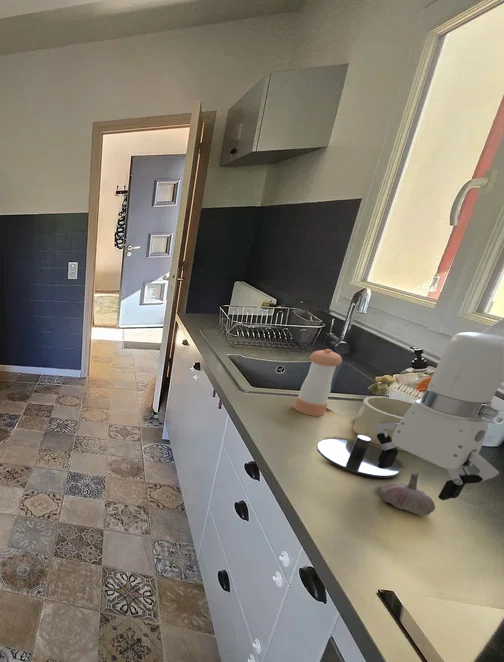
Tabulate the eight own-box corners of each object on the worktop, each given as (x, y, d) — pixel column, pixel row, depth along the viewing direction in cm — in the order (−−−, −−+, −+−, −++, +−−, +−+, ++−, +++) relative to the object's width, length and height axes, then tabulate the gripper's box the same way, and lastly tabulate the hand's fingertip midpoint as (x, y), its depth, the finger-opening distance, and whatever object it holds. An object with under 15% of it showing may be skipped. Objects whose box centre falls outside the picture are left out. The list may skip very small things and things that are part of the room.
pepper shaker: (328, 411, 113) (349, 350, 106) (318, 418, 109) (340, 355, 102) (299, 402, 119) (318, 343, 111) (289, 409, 115) (308, 348, 107)
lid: (414, 472, 86) (426, 449, 84) (367, 485, 82) (378, 461, 80) (344, 439, 99) (352, 418, 97) (301, 448, 96) (308, 427, 93)
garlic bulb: (367, 496, 79) (381, 464, 76) (396, 491, 81) (411, 460, 77) (409, 523, 72) (427, 489, 69) (440, 517, 74) (458, 483, 71)
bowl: (437, 446, 96) (452, 416, 93) (400, 455, 92) (414, 424, 89) (376, 420, 108) (387, 393, 105) (340, 427, 104) (350, 400, 101)
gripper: (540, 423, 61) (487, 508, 67) (408, 381, 76) (375, 453, 83) (511, 430, 59) (459, 516, 66) (381, 386, 74) (350, 459, 81)
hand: (413, 481), depth 74 cm, fingers open, 9 cm apart
